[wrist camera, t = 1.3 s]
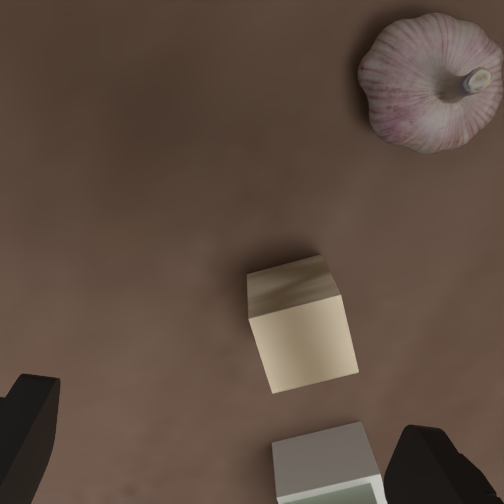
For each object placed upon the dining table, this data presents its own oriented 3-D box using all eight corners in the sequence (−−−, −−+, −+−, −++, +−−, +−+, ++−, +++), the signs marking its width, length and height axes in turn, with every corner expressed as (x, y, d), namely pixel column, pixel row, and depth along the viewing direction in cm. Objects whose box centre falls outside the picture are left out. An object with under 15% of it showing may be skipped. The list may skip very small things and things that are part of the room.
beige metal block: (320, 254, 29) (340, 294, 23) (336, 319, 30) (358, 372, 25) (246, 273, 29) (248, 318, 23) (266, 337, 31) (272, 393, 25)
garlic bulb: (328, 61, 25) (367, 50, 17) (449, -19, 23) (548, -68, 16) (387, 175, 27) (444, 210, 20) (500, 108, 26) (607, 117, 18)
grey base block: (360, 419, 34) (380, 474, 29) (376, 486, 36) (397, 545, 31) (271, 441, 34) (276, 497, 29) (293, 505, 36) (301, 566, 32)
